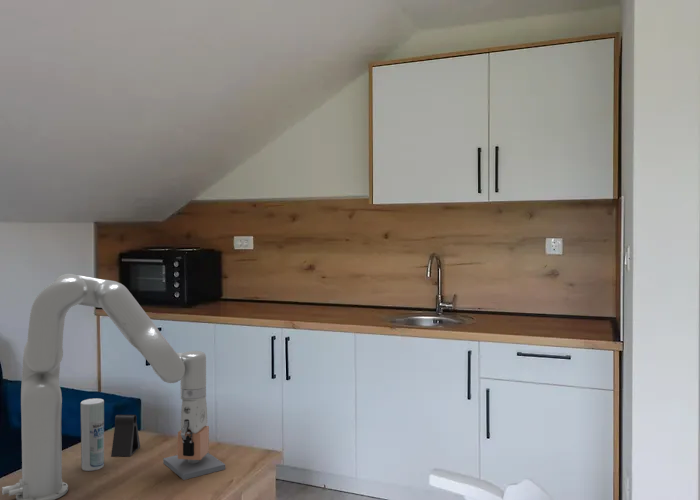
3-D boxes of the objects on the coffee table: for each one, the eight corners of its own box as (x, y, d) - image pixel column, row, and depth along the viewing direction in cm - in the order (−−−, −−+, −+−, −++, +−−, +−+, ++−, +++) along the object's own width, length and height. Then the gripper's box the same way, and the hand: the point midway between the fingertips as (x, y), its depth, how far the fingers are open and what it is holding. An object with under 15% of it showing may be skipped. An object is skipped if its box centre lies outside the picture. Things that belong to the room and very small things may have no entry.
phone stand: (122, 446, 198) (122, 410, 198) (140, 446, 198) (140, 410, 198) (111, 456, 189) (110, 419, 189) (129, 456, 189) (129, 419, 189)
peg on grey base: (183, 479, 171) (183, 448, 171) (163, 463, 184) (163, 433, 184) (225, 469, 179) (225, 438, 179) (203, 453, 192) (202, 425, 192)
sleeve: (200, 460, 178) (200, 433, 177) (177, 458, 179) (177, 432, 178) (208, 451, 185) (208, 425, 184) (187, 450, 185) (187, 424, 185)
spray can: (92, 461, 185) (91, 397, 185) (109, 464, 183) (108, 399, 183) (76, 469, 179) (75, 403, 178) (93, 472, 177) (93, 405, 176)
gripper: (194, 401, 172) (194, 462, 172) (215, 386, 189) (215, 442, 190) (169, 400, 173) (169, 461, 173) (192, 385, 190) (192, 440, 191)
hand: (193, 450), depth 182 cm, fingers closed on sleeve, 6 cm apart
